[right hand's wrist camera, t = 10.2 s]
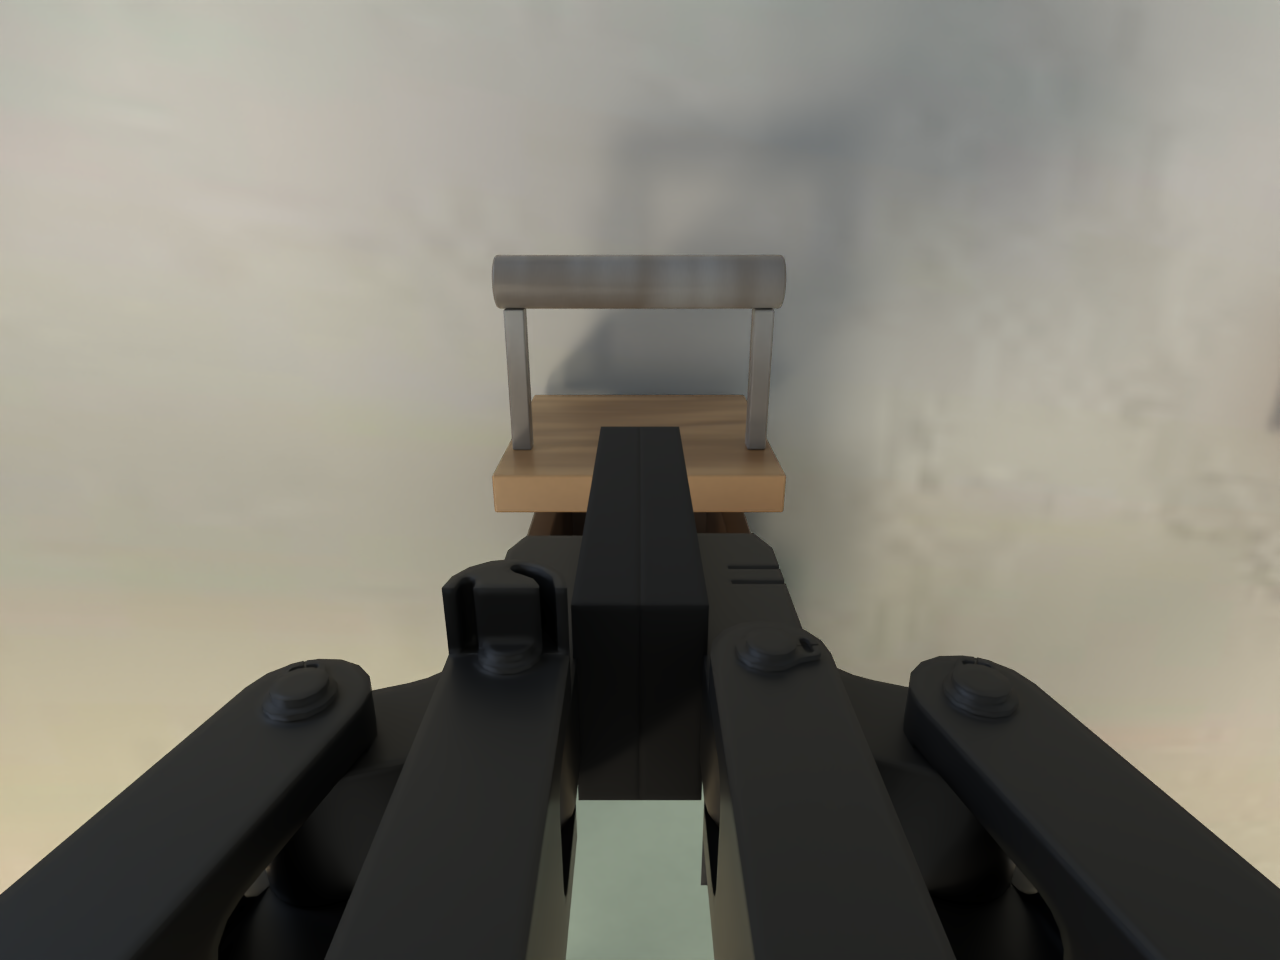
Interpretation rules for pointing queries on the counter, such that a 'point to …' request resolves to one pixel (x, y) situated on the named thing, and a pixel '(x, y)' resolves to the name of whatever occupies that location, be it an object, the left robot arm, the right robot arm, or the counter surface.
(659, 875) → the cabinet
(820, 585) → the counter surface
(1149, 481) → the counter surface
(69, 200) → the counter surface
